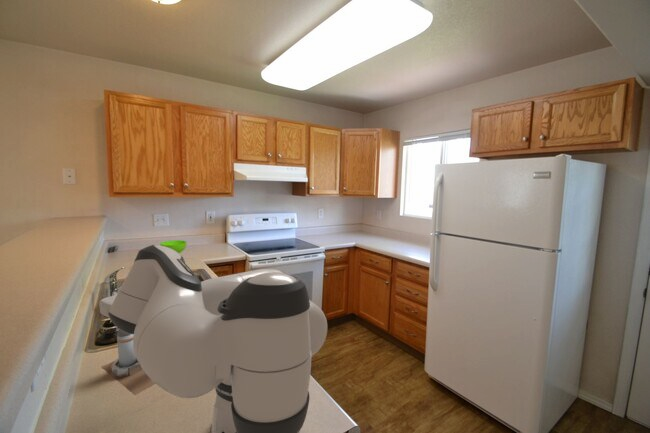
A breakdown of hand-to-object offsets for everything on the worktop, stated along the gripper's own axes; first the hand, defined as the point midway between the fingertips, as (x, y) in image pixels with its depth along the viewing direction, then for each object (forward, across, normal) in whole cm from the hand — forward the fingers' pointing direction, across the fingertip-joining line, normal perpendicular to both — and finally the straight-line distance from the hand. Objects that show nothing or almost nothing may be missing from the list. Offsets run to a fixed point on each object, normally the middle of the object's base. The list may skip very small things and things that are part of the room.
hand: (135, 289), depth 83 cm
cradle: (+11, +1, -29) cm, 31 cm away
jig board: (+8, +5, -30) cm, 32 cm away
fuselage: (+11, +1, -29) cm, 31 cm away
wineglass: (+106, +65, -32) cm, 129 cm away
